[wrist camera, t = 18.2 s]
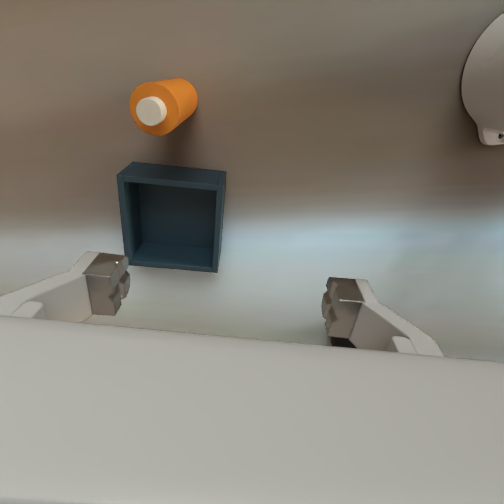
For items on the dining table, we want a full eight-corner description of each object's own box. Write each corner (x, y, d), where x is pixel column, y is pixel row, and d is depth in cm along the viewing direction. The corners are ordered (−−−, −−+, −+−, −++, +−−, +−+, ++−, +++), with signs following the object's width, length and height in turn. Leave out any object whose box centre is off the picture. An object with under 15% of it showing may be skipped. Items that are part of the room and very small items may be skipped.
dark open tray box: (226, 171, 48) (223, 185, 42) (220, 251, 54) (217, 272, 49) (132, 161, 47) (116, 174, 41) (138, 243, 54) (125, 265, 48)
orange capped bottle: (198, 80, 42) (174, 86, 29) (197, 119, 44) (175, 142, 31) (160, 76, 42) (119, 80, 29) (161, 116, 44) (124, 136, 31)
